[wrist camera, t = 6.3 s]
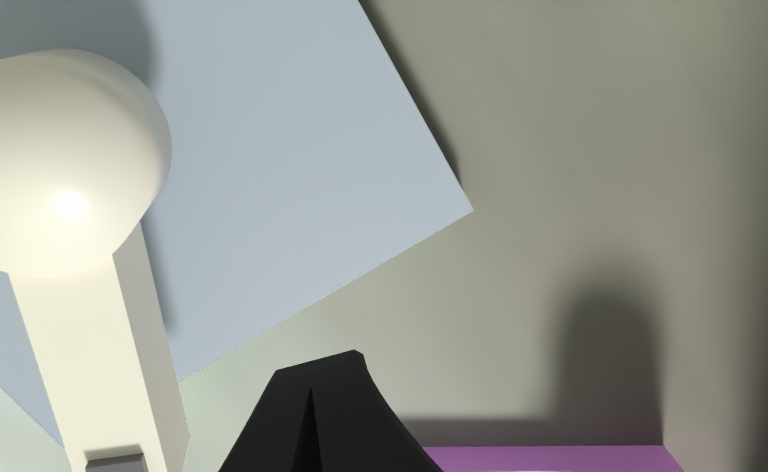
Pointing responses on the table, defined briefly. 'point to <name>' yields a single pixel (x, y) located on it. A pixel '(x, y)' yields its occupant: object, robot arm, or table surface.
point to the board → (250, 163)
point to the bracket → (554, 459)
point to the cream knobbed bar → (89, 254)
